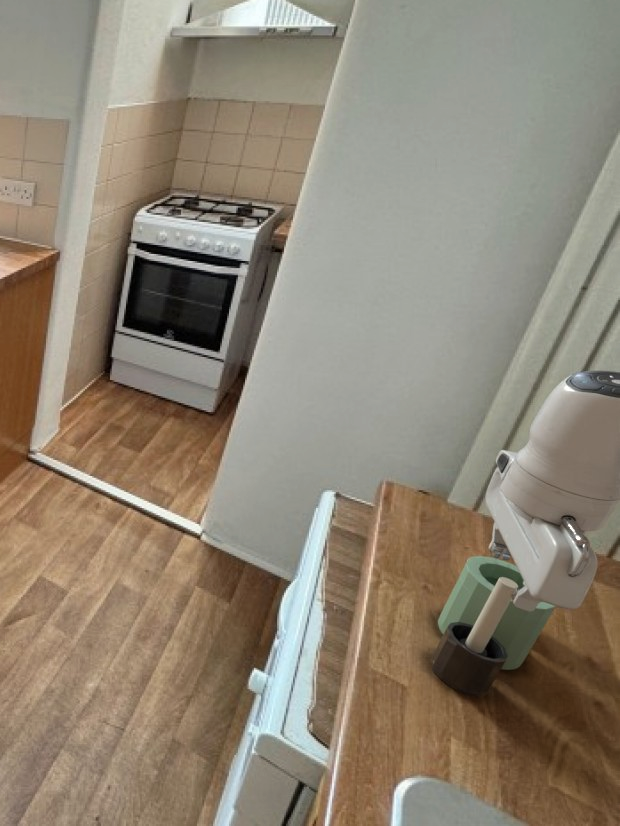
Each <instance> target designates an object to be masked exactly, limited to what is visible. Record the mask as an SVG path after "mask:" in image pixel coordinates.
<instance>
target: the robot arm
mask: <svg viewBox="0 0 620 826" xmlns="http://www.w3.org/2000/svg"><path fill="white" fill-rule="evenodd" d="M527 441H528V442H527V443H526V445H525V446H523V448H521V449H520V450H519V451H518V452H515V451H510V450H506V449H501V450H499V452H498V453H497V456H496V458H495V464H496V466H497V467H496V468H495V469H494V472H493V473H492V476H491V478H490V481H489V483H488V486H487V489H486V493H485V506H486V507H487V509H488V511H489V514H490V516H491V518H492V519H493V521H494V523H493V527H492V536H491V537H492V538H491V542H490V543H489V545H488V546H487V547H488V550H489V552H490V554H491V555H492V556H491V557H492V558H495V559H499V560H502V561H509V560H510V559H511V557H512V560H513V561H514V565H515V566H517V568H518V570H519V572H520V574H521V576H522V578H523V580H524V581H523V585H524V587H523V588H522V589H518V588H515V589H514V591H513V594H511V598H512V600H513V603H514V605H515V606H516V607H517V608H520V609H523V610H526V611H534V610H535V608H536V607H537V605H538V603H540V602H545V603H548V604H551V605H554V606H556V607H557V608H560V609H563V610H569V611H571V610H575V609H579V608H580V606H581V605H582V604H583V602H584V600H585V599H586V596H587V594H588V592H589V590H590V588H591V585H592V583H593V581H594V579H595V577H596V574H597V570H598V564H599V562H598V556H597V554H596V552H595V550H594V549H593V548H592V545H591V541H590V539H589V538H588V537H587V536H586V535H585V534H584V532H597V531H600V530H602V529H604V527H605V525H606V524H607V522H608V521H609V519H610V518H611V516H612V514H613V513H614V512H615V509H616V508H617V506H618V504H619V503H620V371H614V370H613V371H612V370H586V371H585V370H583V371H578V372H575V373H573V374H571V375H569V376H567V377H566V378H564V379H562V381H560V382H559V383H558V384H557V385H556V386H555V387H554V388H553V389H552V391H551V392H550V394H549V395H548V396H547V398H546V399H545V400H544V402H543V403H542V405H541V407H540V409H539V410H538V412H537V413H536V415H535V418H534V419H533V421H532V423H531V425H530V428H529V439H528V440H527Z"/></svg>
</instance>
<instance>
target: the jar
mask: <svg viewBox="0 0 620 826" xmlns="http://www.w3.org/2000/svg"><path fill="white" fill-rule="evenodd" d="M500 577H505V578H508V579H510V580H512V581H514V582H515V583H516V584H517V585H518V589H522V588H523V587H524V585H523V581H524V580H523V578H522V576H521V574H520V572H519V570H518V568H517V566H516V564H513V563H511V562H508V561H506V560H502V559H500V558H495V557H493V556H491V557H490V556H482V555H477V556H472V557H469V558H468V559H467V560H466V562H465V565H464V566H463V568H462V570H461V571H460V574H459V576H458V578H457V580H456V582H455V585H454V587H452V590H451V592H450V595H449V597H448V599H447V601H446V603H445V605H444V606H443V609H442V611H441V613H440V615H439V617H438V620H437V627H438V628H439V631H440V633H441V634H442V635H443V634H444V632H445V630H446V629H447V627H448V625H449V624H450V623H453V622H462V623H466V624H471V625H473V626H474V625H475V623H476V621H477V619H478V617H479V615H480V613H481V612H482V610H483V608H484V606H485V604H486V602H487V600H488V598H489V596H490V594H491V593H492V591H493V589H494V587H495V585H496V583H497V581H498V579H499V578H500ZM556 607H557V606H554V605H551V604H548V603H545V602H540V603H538V605H537V607H536V608H535V610H534V611H526V610H523V609H520V608H517V607H516V606H515V605H514V603H513V600H511V601H510V603H509V605H508V607H507V609H506V611H505V612H504V614H503V616H502V618H501V620H500V622H499V623H498V625H497V627H496V629H495V631H494V632H493V634H492V636H493V637H494V638H496V639H497V640H498V641H499V642H500V643H501V644H502V645H503V646H504V647H505V649H506V651H507V654H508V658H507V660H506V661H505V663H504V665H503V667H502V668H501V670H506V671H510V670H511V671H512V670H516V669H519V667H521V665H522V664H523V663H524V662H525V660H526V658H527V656H528V655H529V653H530V651H531V650H532V648H533V646H534V644H535V643H536V641H537V640H538V638H539V636H540V635H541V632H542V631H543V630H544V627H545V626H546V625H547V623H548V621H549V619H550V618H551V616H552V614H553V612H554V611H555V609H556Z"/></svg>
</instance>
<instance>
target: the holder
mask: <svg viewBox="0 0 620 826" xmlns="http://www.w3.org/2000/svg"><path fill="white" fill-rule="evenodd" d="M473 627H474V626H473V625H471V624H466V623H462V622H453V623H450V624H449V625H448V627H447V629H446V630H445V632H444V634H442V637H441V638H440V641H439V643H438V645H437V646H436V648H435V650H434V652H433V654H432V656H431V659H430V666H431V669H432V671H433V672H434V674H435V675H436V677H438V678H439V679H440V680H441V681H442V682H443V683H444V684H446V685H447V686H448V687H450V688H452V689H453V690H455V691H457V692H459V693H461V694H464V695H466V696H468V697H469V696H470V697H474V698H482V697H485V696H487V694H488V693H489V691H490V689H491V687H492V686H493V684H494V682H495V681H496V679H497V677H498V676H499V674H500V672H501V670H502V669H501V668H502V667H503V665H504V663H505V661H506V660H507V658H508V654H507V651H506V649H505V647H504V646H503V645H502V644H501V643H500V642H499V641H498V640H497V639H496V638H494V637H493V636H491V638H490V640H489V642H488V643H487V645H486V647H485V650H486V651H487V654H488V655H487V657H484V656H481V655H479V654H477V653H475V652H473V651H471V650H469V649H468V648H467V647H465V646H464V645H462V644H461V643H460V640H461V639H467V638H468V636H469V634H470V632H471V630H472V629H473Z"/></svg>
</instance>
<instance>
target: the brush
mask: <svg viewBox="0 0 620 826" xmlns="http://www.w3.org/2000/svg"><path fill="white" fill-rule="evenodd" d="M515 588H518V585H517V584H516V583H515V582H514V581H512V580H510V579H508V578H505V577H500V578H499V579H498V581H497V583H496V585H495V587H494V589H493V591H492V593H491V594H490V596H489V598H488V600H487V602H486V604H485V606H484V608H483V610H482V612H481V613H480V615H479V617H478V619H477V621H476V623H475V625H474V627H473V629H472V630H471V632H470V634H469V636H468V638H467V639H461V640H460V643H461V644H462V645H464V646H465V647H467V648H468V649H469V650H471V651H473V652H475V653H477V654H479V655H481V656H484V657H487V655H488V654H487V651H486V650H485V647H486V645H487V643H488V642H489V640H490V638H491V636H492V634H493V632H494V631H495V629H496V627H497V625H498V623H499V622H500V620H501V618H502V616H503V614H504V612H505V611H506V609H507V607H508V605H509V603H510V601H511V600H512V598H511V594H513V591H514V589H515Z"/></svg>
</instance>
